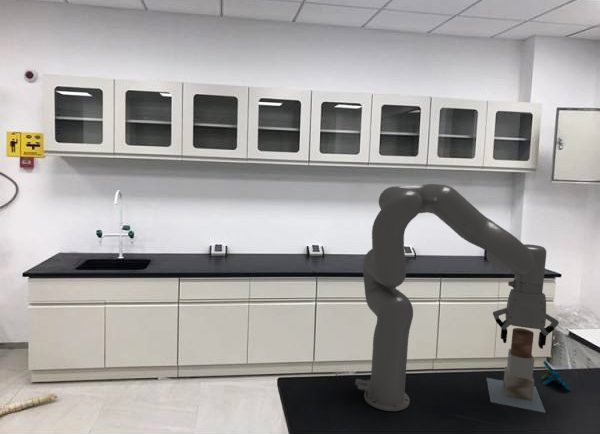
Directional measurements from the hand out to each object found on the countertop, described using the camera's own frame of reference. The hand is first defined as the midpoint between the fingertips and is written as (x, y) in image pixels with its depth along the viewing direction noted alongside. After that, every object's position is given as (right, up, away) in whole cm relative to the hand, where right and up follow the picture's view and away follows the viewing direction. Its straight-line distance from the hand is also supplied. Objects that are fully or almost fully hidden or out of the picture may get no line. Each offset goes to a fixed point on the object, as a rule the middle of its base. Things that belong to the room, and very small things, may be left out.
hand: (522, 344), depth 131 cm
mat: (-2, -16, +1) cm, 16 cm away
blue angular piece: (+14, -16, +8) cm, 23 cm away
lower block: (-1, -15, +2) cm, 15 cm away
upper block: (0, -9, +1) cm, 9 cm away
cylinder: (0, -3, 0) cm, 3 cm away
